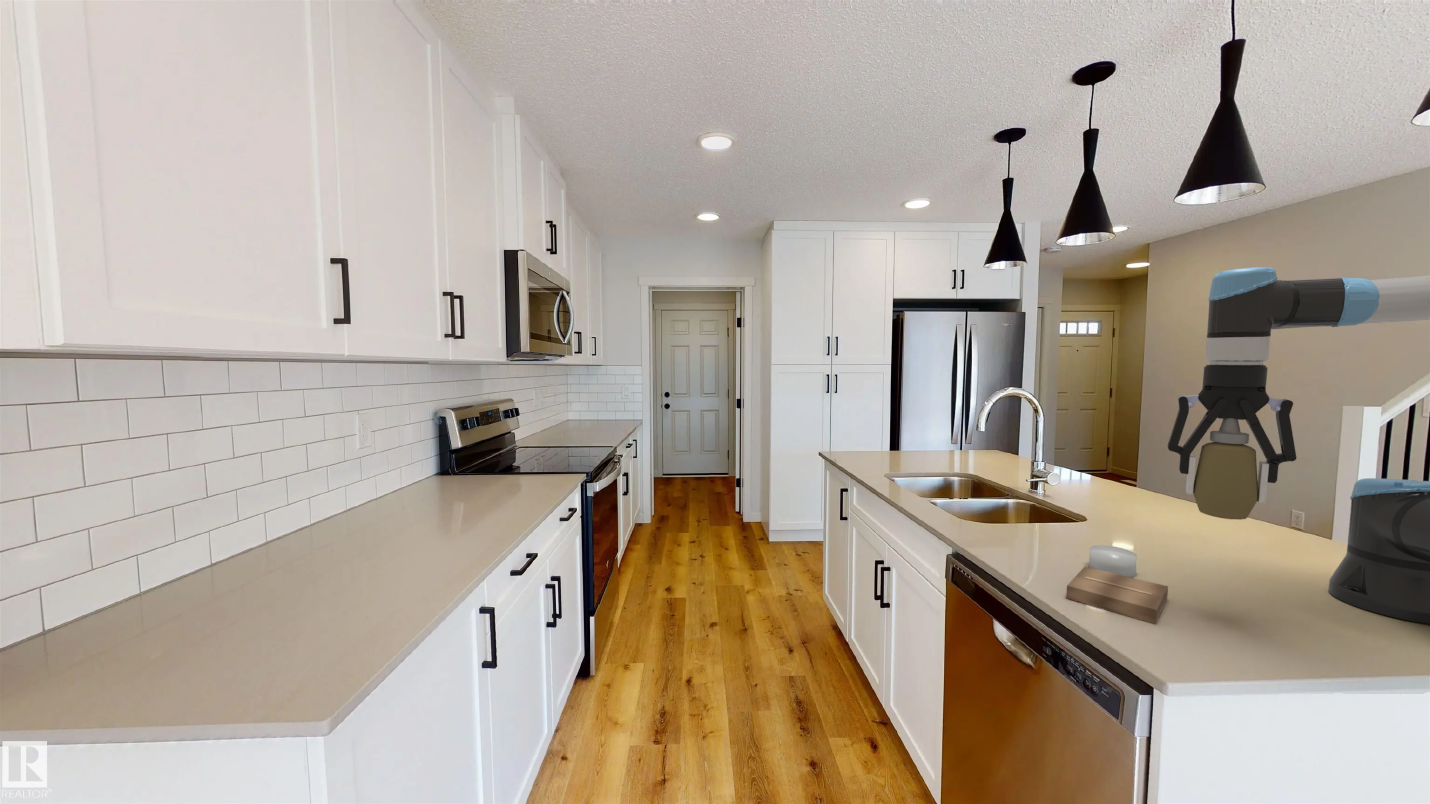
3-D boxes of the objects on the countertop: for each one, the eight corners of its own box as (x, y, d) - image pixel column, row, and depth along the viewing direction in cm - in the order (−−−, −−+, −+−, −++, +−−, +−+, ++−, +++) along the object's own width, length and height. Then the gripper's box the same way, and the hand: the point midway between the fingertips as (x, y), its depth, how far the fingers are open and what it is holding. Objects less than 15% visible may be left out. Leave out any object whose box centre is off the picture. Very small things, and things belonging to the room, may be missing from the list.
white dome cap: (1136, 568, 111) (1136, 550, 111) (1136, 581, 105) (1136, 562, 104) (1090, 560, 116) (1090, 542, 116) (1087, 572, 110) (1088, 553, 109)
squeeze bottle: (1242, 525, 83) (1251, 414, 82) (1180, 511, 91) (1188, 410, 89) (1266, 518, 87) (1276, 412, 85) (1205, 506, 94) (1213, 407, 92)
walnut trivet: (1167, 599, 97) (1168, 585, 97) (1155, 624, 88) (1156, 609, 88) (1084, 577, 106) (1084, 565, 106) (1066, 598, 98) (1066, 584, 98)
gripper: (1323, 363, 83) (1309, 502, 85) (1153, 362, 96) (1144, 483, 98) (1337, 364, 77) (1322, 513, 79) (1154, 363, 90) (1144, 491, 92)
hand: (1223, 496), depth 88 cm, fingers closed on squeeze bottle, 8 cm apart
